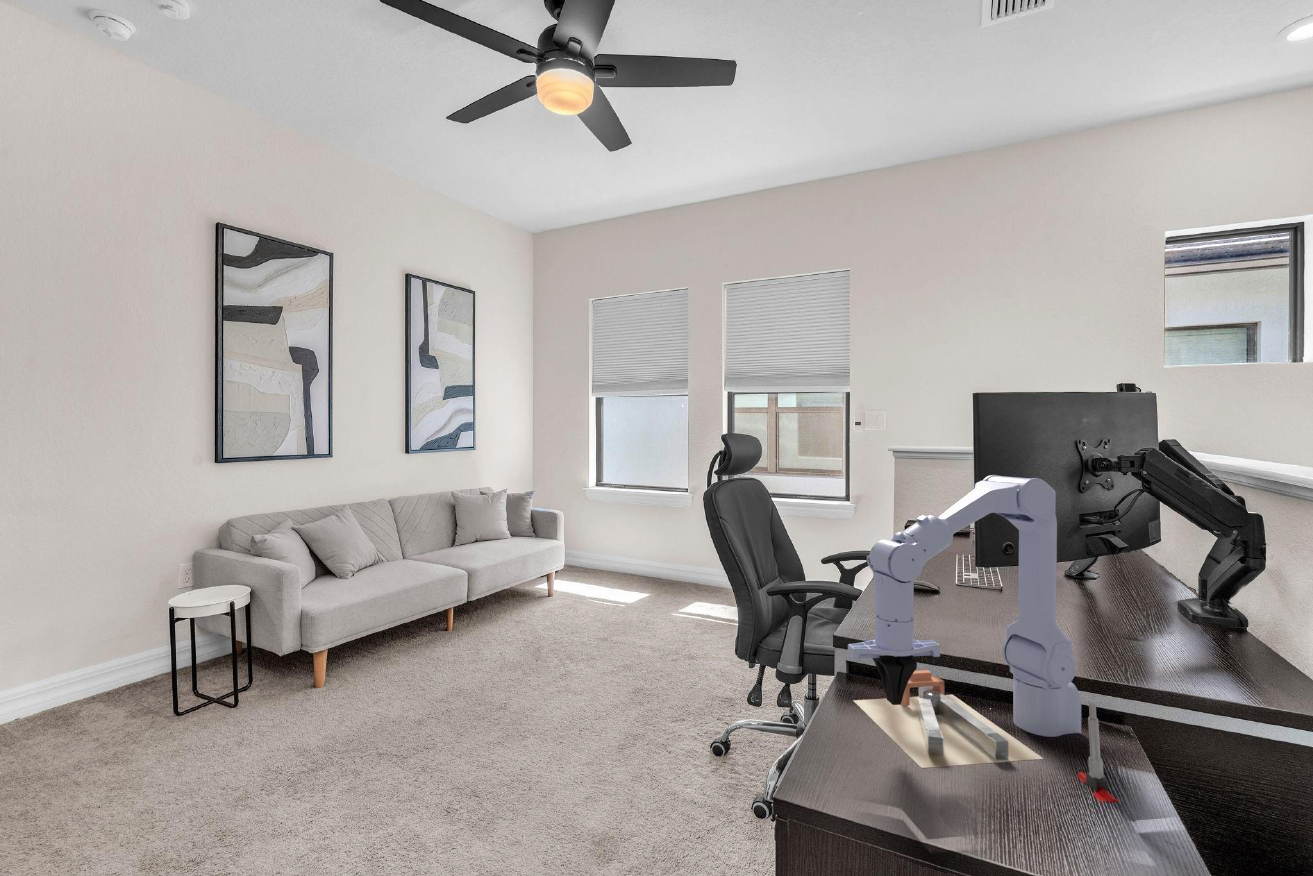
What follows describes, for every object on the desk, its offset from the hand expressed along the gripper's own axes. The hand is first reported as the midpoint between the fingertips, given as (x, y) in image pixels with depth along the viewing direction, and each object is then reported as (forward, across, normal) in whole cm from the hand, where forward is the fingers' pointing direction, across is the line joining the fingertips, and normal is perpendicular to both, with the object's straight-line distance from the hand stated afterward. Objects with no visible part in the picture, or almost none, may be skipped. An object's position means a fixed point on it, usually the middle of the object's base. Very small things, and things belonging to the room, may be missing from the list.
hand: (893, 702), depth 93 cm
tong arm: (+7, -8, -3) cm, 11 cm away
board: (+8, -11, -5) cm, 15 cm away
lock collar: (+7, -13, -14) cm, 20 cm away
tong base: (+7, -14, -5) cm, 16 cm away
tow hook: (+8, -19, +13) cm, 25 cm away
